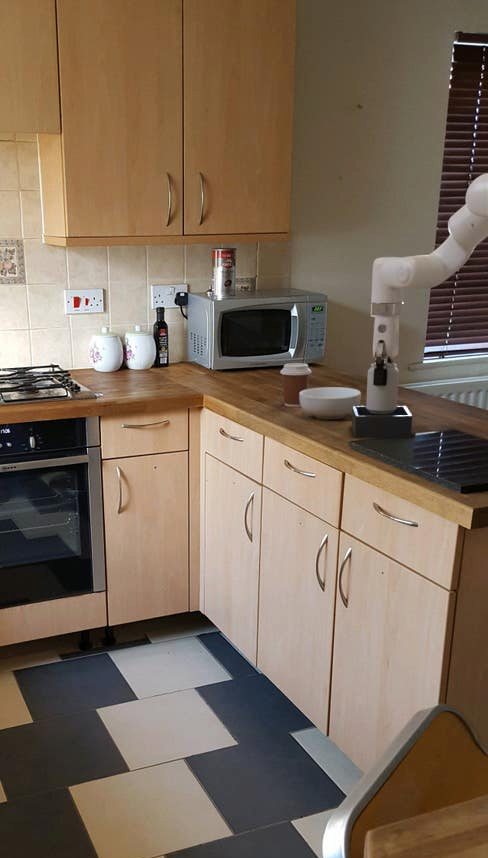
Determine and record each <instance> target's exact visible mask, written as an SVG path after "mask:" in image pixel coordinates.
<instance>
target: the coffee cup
mask: <svg viewBox="0 0 488 858" xmlns="http://www.w3.org/2000/svg"><path fill="white" fill-rule="evenodd" d="M280 374H281V375H282V386H283V401H284V402H283V403H284V406H286V407H301V405H300V399H299V393H300V392H301V391H303V390H306V389H309V379H310V374H312V370H311V369H310V368H309V365H308V363H303V362H302V363H301V362H293V363H292V362H291V363H285V364H284V365H283V368H282V369H281V370H280Z"/></svg>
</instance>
